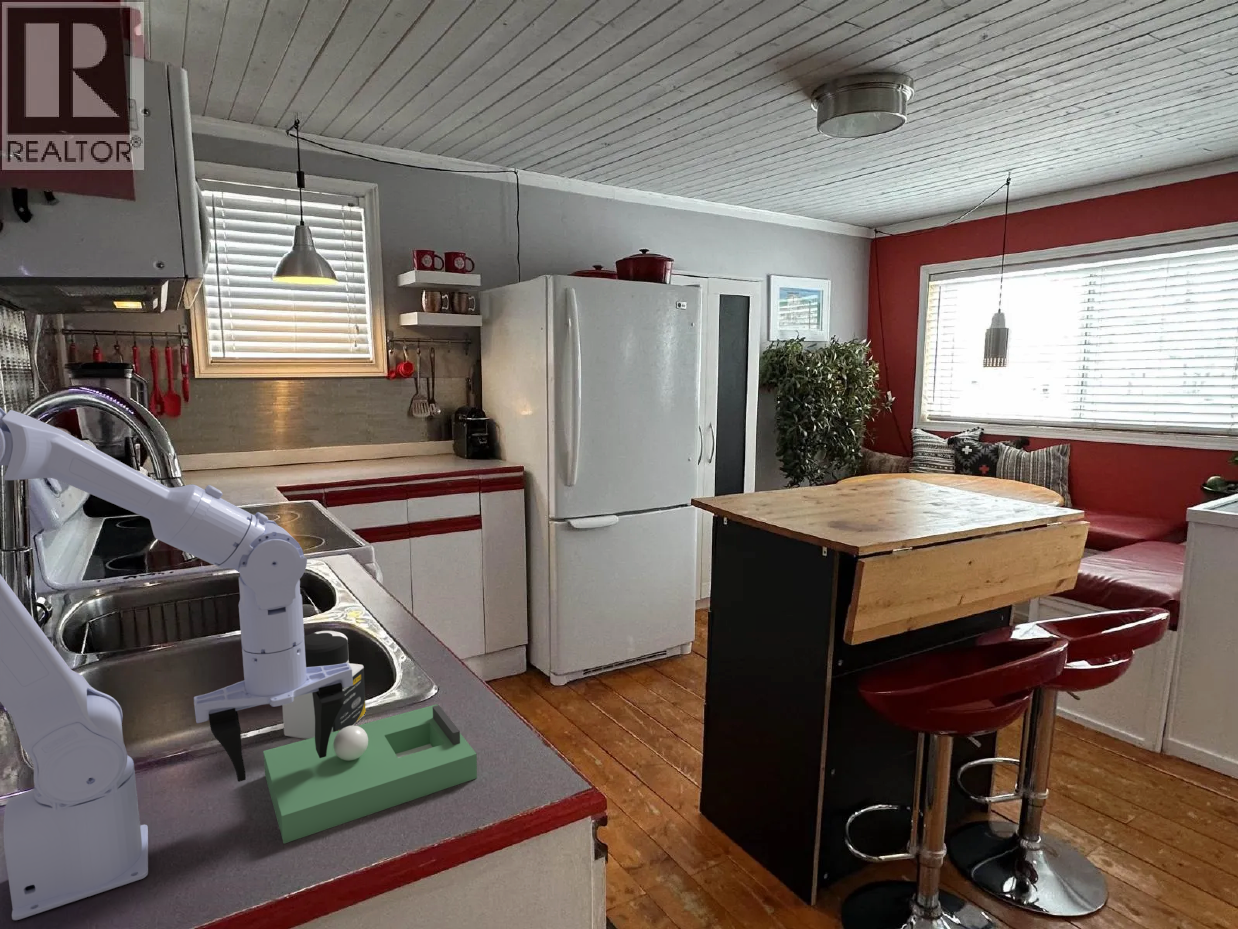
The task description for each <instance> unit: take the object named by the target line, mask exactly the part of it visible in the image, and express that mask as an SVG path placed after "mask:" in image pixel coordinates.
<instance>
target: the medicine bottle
mask: <svg viewBox="0 0 1238 929" xmlns="http://www.w3.org/2000/svg"><path fill="white" fill-rule="evenodd" d="M304 643H305V658H306V667H316V666H328V665H337V664H342V663H348V664H349V665H350V667H351V668H352V678H353V686H349V687H345V688H343V687H342V690H343V692H344V696H345V699H344V704H343V706H342V708H341V709H340V711H339V713H338V715H337V717H336V720H335V722H334V725H333V727H332V730H331V733H332V732H336V731H339V730H342V729H343V728H345V727H347V726H356V724H358V722H359V721H360V720H361V719H362V718H364V717H365V715H366V714H365V712H366V713H367V710H366V691H365V689H366V687H365V669H364V668H365V667H364V665H363V664H358V663H350V661H349V644H348V643H349V640H348V637H347V636H346V634H344V633H342V632H340V631H336V630H335V631H334V630H321V631H316V632H312V633H310V634H307V635H304ZM281 706H282V719H283V734H284V736H286V737H289V738H290V737H291V738H298V739H303V740H306V739H310V738H313V737H315V713H314V703H313V695H312V693H308V694H304V695H300V696H297V697H295V698H294V701H293V702H292V703H289V704H285V705H281ZM364 714H365V715H364Z"/></svg>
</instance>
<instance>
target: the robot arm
mask: <svg viewBox="0 0 1238 929" xmlns="http://www.w3.org/2000/svg"><path fill="white" fill-rule="evenodd" d="M0 466H7V468H6V471H5V475H4V477H3V480H4V481H18V480H33V479H34V480H36V479H38V480H39V479H53V480H57V481H59V482H62V483H64V484H67V485H69V486H71V487H73V488H76V489H78V490H81V491H82V492H85V493H88V495H89V494H90V495H92V496H95V497H97V498H99V499H102V500H104V501H106V502H108V503H111V504H114V505H116V506H118V507H119V508H123V509H125V510H128V511H130V512H132V513H134V514H137V515H139V516H141V517H143V518H145V519H148V520H149V521H150V526H151V530H152V533H153V536H154V539H156V540H158V541H160V542H163V543H165V544H167V545H169V546H171V547H173V548H176V549H178V550H179V551H182V552H185V553H186V554H189V555H192V556H194V557H196V558H198V559H200V560H202V561H204V562H207V563H209V564H211V565H213V566H216V567H218V568H219V569H229V570H230V569H231V570H235V571H236V572H238V573H239V576H238V587H239V602H238V614H239V626H240V629H239V630H240V637H241V638H240V640H241V652H242V653H241V654H242V666H243V667H242V668H243V677H244V680H241V681H238V682H236V683H233V684H231V685H227V686H225V687H222V688H219V689H217V690H214V691H211V692H208V693H205V694H199V695H196V696H194V697H193V705H194V716H195V721H196V724H200V723H204V722H207V721H209V727H210V732H211V733H212V735H213V736H214V738H215V739H216V741H218V743H220V745H221V746H222V748H223V749H224V751H225V753H226V754H227V755H228V757H229V759H230V760H231V763H232V765H233V767H234V771H235V774H236V779H237V782H238V783H239V782H242V781H247V780H246V779H247V778H246V776H247V775H246V769H245V763H244V757H243V751H242V733H241V732H242V730H241V724H240V720H239V713H238V711H241V710H245V709H250V708H254V707H258V706H262V705H270V706H271V707H280V706H282V705H285V704H289V703H292V702H293V701H294V698H295V697H297V696H300V695H304V694H308V693H312V695H313V703H314V713H315V746H316V751H317V753H318V756H319V758H323V757H326V754H327V746H328V742H329V737H330V734H331V730H332V727H333V725H334V722H335V720H336V717H337V715H338V713H339V711H340V709H341V708H342V706H343V704H344V699H345V696H344V692H343V690H342V687H343V688H345V687H349V686H353V678H352V668H351V667H350V665H349V664H348V663H342V664H337V665H328V666H316V667H306V658H305V643H304V637H305V629H304V628H305V625H304V610H303V596H302V594H301V587H300V586H301V580H300V579H301V578H302V577H303V575H304V573H305V571H306V569H307V565H308V558H307V557H306V556H305V555H304V550H303V548H302V547H301V545H300V543H299V542H298V541H297V540H296V538H294V537H293V536H292V535H291V534H290V533H289V532H288V531H287V530H286V529H285V528H283V527H282V526H279V525H278V524H277V523H276V521H275V520H271V519H269V517H268V516H266V515H265V514H263V513H261V512H259V511H257V512H256V513H255V514H253V513H250V512H249V511H247V510H245V509H243V508H241V507H239V506H237V505H235V504H233V503H231V502H229V501H228V500H226V499H224V498H222V496H224V495H223V494H224V493H223V492H222V490H221V489H218V488H217V487H215V486H213V485H211V484H208V485H206V487H205V488H202V487H200V486H198V485H196V484H186V485H182V486H181V485H180V486H176V487H175V486H174V487H168V486H166V485H164V484H162V483H160V482H158V481H157V480H155V479H154V478H152V477H149V476H147V475H145V474H144V473H143V472H140V471H138V470H136V469H134V468H133V467H130V466H129V465H127V464H125V463H123V462H121V460H118V459H116V458H114V457H112V455H111V456H110V455H108V454H107V453H105V452H103V451H101V450H99V449H98V448H96V447H94V446H92V445H90V444H88V443H87V442H84V441H83V440H81V439H79V438H77V437H75V436H73V435H71V434H70V433H68V432H66V431H65V430H62V429H60V428H57V427H55V426H53V425H51V424H48V423H46V422H44V421H41V420H39V419H37V418H35V417H33V416H30V415H28V414H25V413H22V412H20V411H19V412H18V411H16V410H13V409H9V411H8V412H6V411H5V410H4V408H2V407H0ZM0 703H1V705H2V706H3V707H4V708H5V709H6V711H7V713H9V715H10V717H11V719H12V722H13V724H14V728H15V730H16V733H17V736H18V739H19V742H20V744H21V747H22V749H23V750H24V752H25V753H26V754H27V755H28V757H29V758H30V760H31V762H32V765H33V782H34V787H33V788H32V789H30V790H28V791H26V792H25V791H24V792H23V793H21V794H18V795H15V796H13V797H10V798H9V799H7V801H6V803H5V809H4V815H3V816H4V817H3V847H4V848H3V849H4V857H5V865H6V871H7V872H6V873H7V878H8V885H9V886H8V887H9V892H10V893H9V894H10V900H11V906H12V907H11V908H12V911H11V920H13V921H18V920H22V919H25V918H28V917H31V916H34V915H36V914H40V913H43V912H46V911H49V910H52V909H56V908H58V907H62V906H64V905H68V904H71V903H74V902H76V901H79V900H82V899H85V898H87V897H88V898H89V897H91V896H94V895H97V894H100V893H103V892H107V891H110V890H112V889H115V888H118V887H122V886H124V885H127V884H131V883H134V882H137V881H139V880H142V879H145V878H146V877H147V876H148V875H149V831H148V830H149V829H148V828H149V827H148V825H147V824H141V820H140V819H141V818H140V811H139V800H138V790H137V783H136V782H137V781H136V771H135V761H134V760H133V758H132V757H131V756H129V755H128V751H127V748H126V746H125V742H124V735H123V726H122V725H123V724H122V723H123V718H124V715H123V710H122V706H121V705H120V704H119V702H118V701H117V700H116V699H115V698H114V697H112V696H111V695H109V694H107V693H104V692H102V691H99V690H97V689H96V688H94V687H92V685H90V683H89V682H88V681H87V680H86V678H85V676H83V675H82V674H80V673H78V672H77V671H74V670H72V669H71V668H70V666H69V665H68V664H67V663H66V661H65V660H64V658H63V657H62V655H60V653H59V651H58V650H57V649H56V648H55V646H54V645H53V644H52V642H51V641H50V640H49V638H48V637H47V635H46V634H45V632H44V631H43V630H42V629H41V627H40V626H39V624H38V623H37V622H36V620H35V618H33V616H32V615H31V614H30V612H29V611H28V610H27V608H26V607H25V606H24V604H23V603H22V602H21V600H20V599H19V597H18V596H17V595H16V593H15V592H14V591H13V589H12V588H11V587H10V585H9V584H8V583H7V581H6V580H5V578H4V577H3V575H2V574H1V573H0Z"/></svg>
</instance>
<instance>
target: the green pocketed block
mask: <svg viewBox="0 0 1238 929" xmlns="http://www.w3.org/2000/svg"><path fill="white" fill-rule="evenodd" d="M357 726H359V727H361V728H362V729H364V730H365V732H366V733H367V736H368V746H367V749H366V750H365V752H364V753H363V754H362V755H361V756H360V757H359V758H357V759H355V760H350V761H347V760H343V759H341V758H339V757H338V756H337V755H336V753H335V751H334V747H333V743H334V739H335V737H336V735H337V734H338V732H339V731H340V730H339V731H336V732H332V733H331V734H330V737H329V742H328V746H327V754H326V757H323V758H319V756H318V753H317V751H316V746H315V737H313V738H310V739H303V740H299V741H296V742H291V743H287V744H284V745H280V746H277V747H274V748H270V749H266V750H263V753H262V754H263V764H264V767H263V768H264V778H265V781H266V784H267V787H268V790H269V791H268V792H269V795H270V798H271V803H272V806H273V810H274V813H275V817H276V821H277V824H278V828H279V831H280V835H281V838H282V843H283V844H288V843H290V842H292V841H293V842H294V841H296V840H299V839H301V838H305V837H308V836H310V835H315V834H317V833H319V832H322V831H325V830H329V829H332V828H334V827H335V828H336V827H337V826H340V825H343V824H346V823H349V822H351V821H354V820H358V819H360V818H364V817H367V816H369V815H372V814H375V813H378V812H381V811H385V810H387V809H390V808H393V807H396V806H400V805H402V804H404V803H408V802H411V801H413V800H417V799H420V798H423V797H426V796H429V795H431V794H434V793H438V792H441V791H443V790H447V789H449V788H452V787H455V786H457V785H460V784H463V783H466V782H469V781H472V780H476V779H477V778H478V765H477V764H478V762H477V760H478V759H477V753H476V751H475V750H474V748H473V747H472V746H471V744H469V742H468V741H467V740H466V738H465V737H464V736H463V735H462V733H461V732H460V729H459V728H458V727H457V725H455V722H453V721H452V719H451V718H450V716H448V714H447V713H446V712H445V711H444V709H443V708H442V707H441V706H440V705H439V704H432V705H430V706H425V707H422V708H421V707H420V708H417V709H414V710H411V711H410V710H409V711H406V712H403V713H399V714H395V715H392V716H388V717H384V718H381V719H377V720H373V721H369V722H365V723H362V724H358V725H357Z"/></svg>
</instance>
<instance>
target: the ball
mask: <svg viewBox="0 0 1238 929" xmlns="http://www.w3.org/2000/svg"><path fill="white" fill-rule="evenodd" d="M367 746H368V736H367V733H366V732H365V730H364V729H362V728H361V727H359V726H358V725H353V726H347V727H345V728H343V729H342V730H340V731H339V732H338V734H337V735H336V737H335V739H334V743H333V747H334V751H335V753H336V755H337V756H338V757H339V758H341V759H343V760H347V761H350V760H355V759H357V758H359V757H360V756H361V755H362V754H363V753H364V752H365V750H366V749H367Z"/></svg>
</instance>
